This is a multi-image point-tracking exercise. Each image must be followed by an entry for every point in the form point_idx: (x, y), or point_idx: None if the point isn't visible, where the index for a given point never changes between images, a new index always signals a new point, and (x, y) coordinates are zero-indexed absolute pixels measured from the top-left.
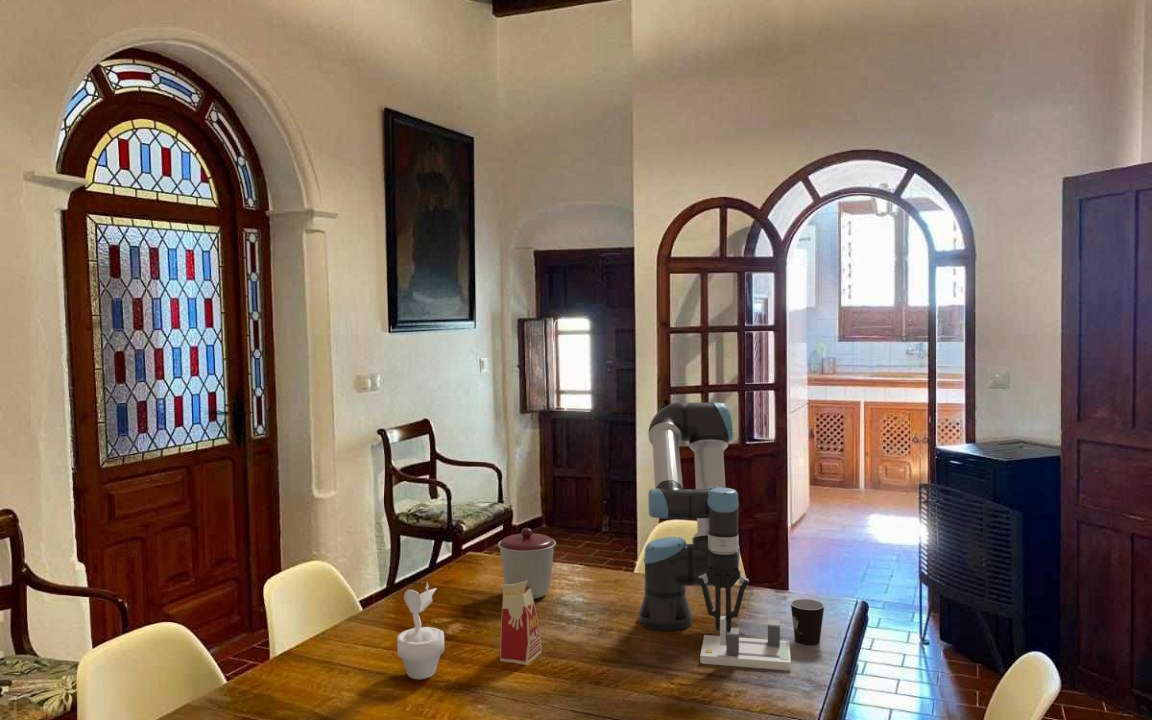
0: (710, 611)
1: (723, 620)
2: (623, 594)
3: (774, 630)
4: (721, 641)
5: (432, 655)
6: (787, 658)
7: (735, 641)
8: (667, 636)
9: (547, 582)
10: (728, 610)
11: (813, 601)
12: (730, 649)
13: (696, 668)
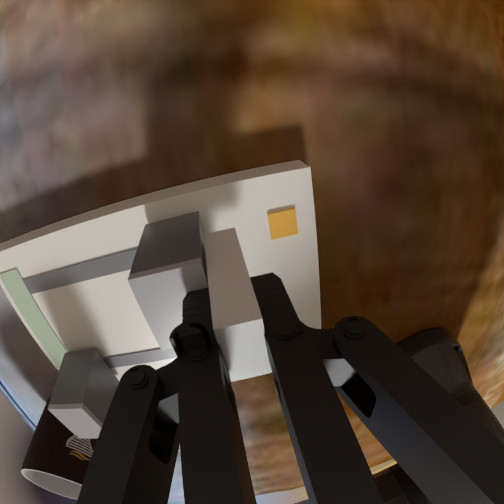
0: (361, 342)
1: (232, 320)
2: None
3: (66, 392)
4: (229, 237)
5: None
6: (4, 281)
7: (151, 252)
8: (409, 313)
9: None
10: (198, 401)
11: (69, 494)
12: (179, 225)
13: (302, 108)
